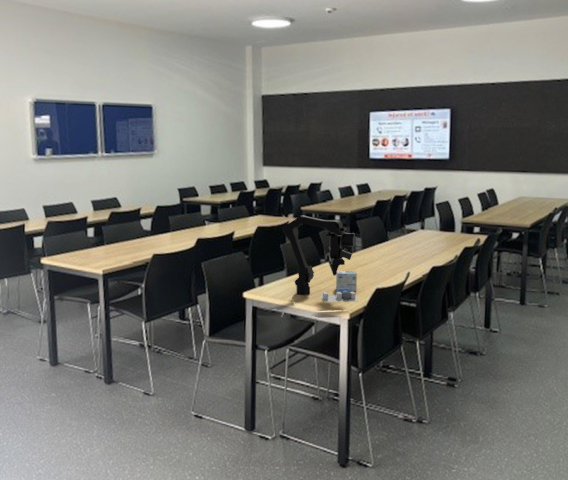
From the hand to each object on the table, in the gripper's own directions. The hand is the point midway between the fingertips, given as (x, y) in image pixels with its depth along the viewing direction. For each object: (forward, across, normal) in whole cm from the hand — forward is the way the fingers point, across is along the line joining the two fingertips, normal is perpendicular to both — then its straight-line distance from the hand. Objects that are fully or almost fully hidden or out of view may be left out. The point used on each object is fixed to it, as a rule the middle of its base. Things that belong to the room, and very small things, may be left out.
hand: (334, 275), depth 306 cm
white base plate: (+12, -3, -2) cm, 13 cm away
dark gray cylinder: (+12, -3, -6) cm, 13 cm away
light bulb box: (+13, +16, -10) cm, 23 cm away
